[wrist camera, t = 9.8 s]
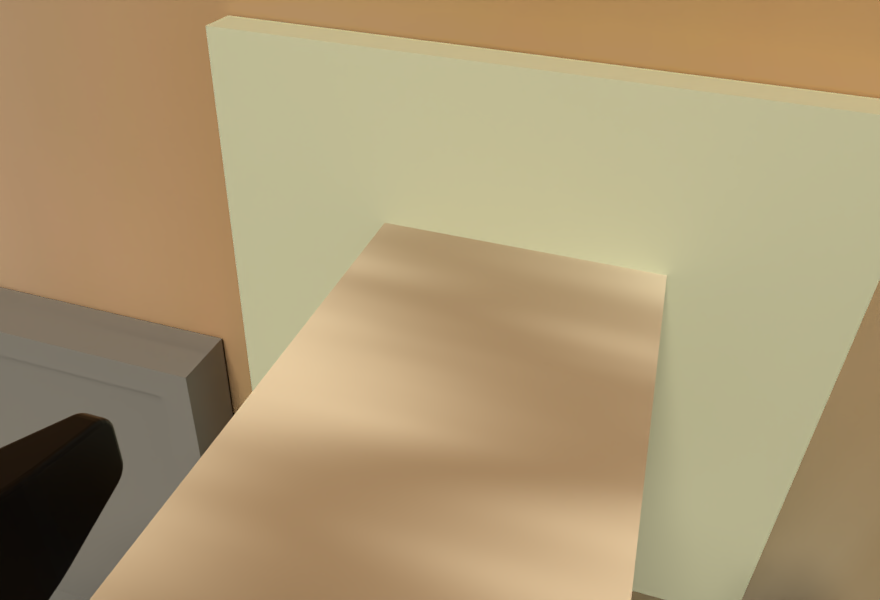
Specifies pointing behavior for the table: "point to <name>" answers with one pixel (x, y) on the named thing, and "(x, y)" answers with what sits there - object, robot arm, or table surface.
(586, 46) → the table surface
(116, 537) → the tray
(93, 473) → the robot arm
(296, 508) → the tan rectangular block
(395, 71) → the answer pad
